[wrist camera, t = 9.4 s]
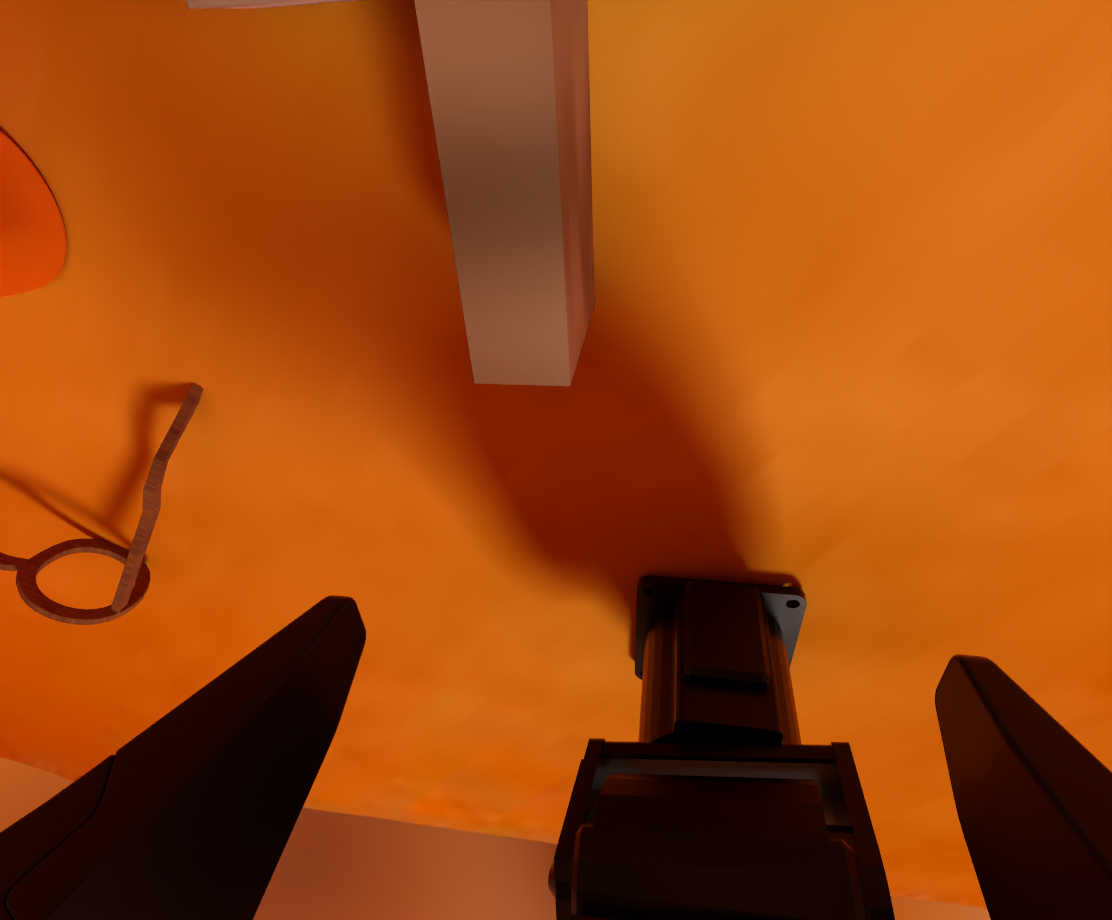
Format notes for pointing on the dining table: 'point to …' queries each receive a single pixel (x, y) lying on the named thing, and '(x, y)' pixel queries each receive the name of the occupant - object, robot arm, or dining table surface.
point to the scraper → (511, 174)
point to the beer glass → (27, 225)
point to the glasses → (107, 545)
